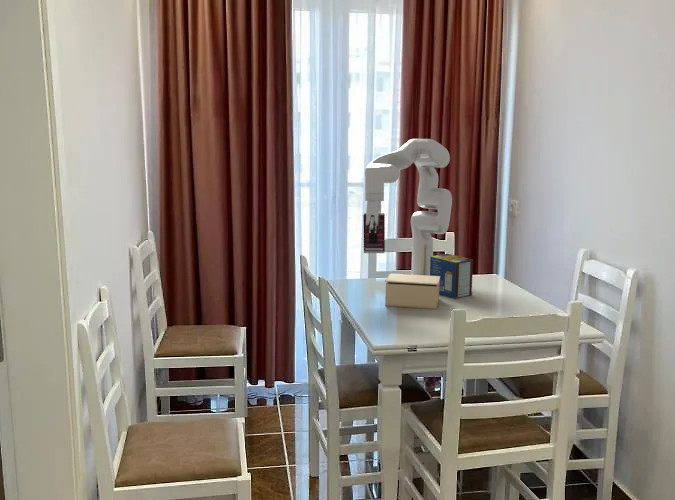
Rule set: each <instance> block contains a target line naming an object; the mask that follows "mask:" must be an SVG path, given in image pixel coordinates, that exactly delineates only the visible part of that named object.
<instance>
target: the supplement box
mask: <svg viewBox="0 0 675 500" xmlns="http://www.w3.org/2000/svg"><path fill="white" fill-rule="evenodd" d="M362 217H363V220H362V221H363V254H385V252H386V251H385V250H386V244H385V243H386V242H385V240H386V239H385V237H386V236H385V235H386V232H385V230H386V227H385V224H386V220H385V217H386V215H385V213H383V212H381V214H380V217H379V225H378V226H377V231H376V233H377V243H369V229H370V224H369V225H368V226H367V225H366V213H363V214H362ZM369 223H370V222H369ZM374 225H375V224H374ZM374 228H375V227H374Z"/></svg>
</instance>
